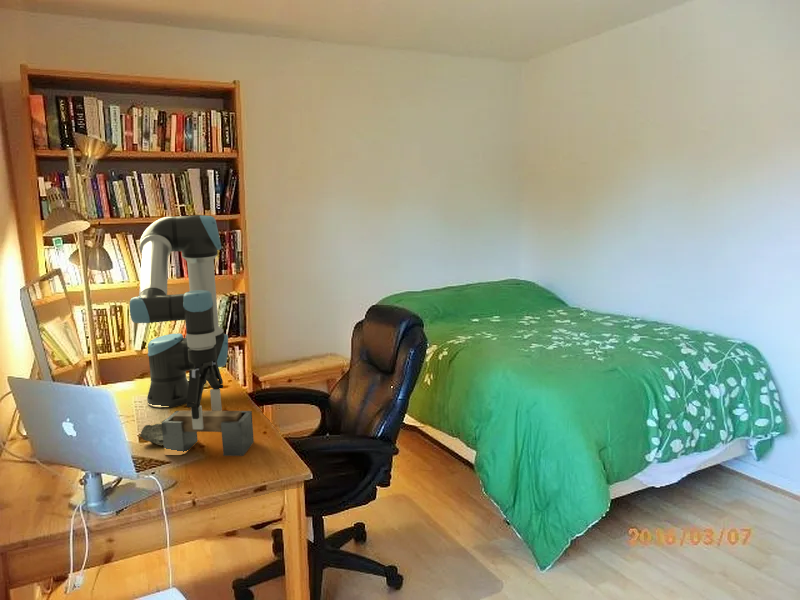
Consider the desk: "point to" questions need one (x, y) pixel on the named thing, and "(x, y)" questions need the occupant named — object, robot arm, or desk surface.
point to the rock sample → (153, 434)
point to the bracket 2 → (237, 435)
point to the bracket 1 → (177, 435)
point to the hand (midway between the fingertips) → (207, 419)
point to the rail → (207, 420)
